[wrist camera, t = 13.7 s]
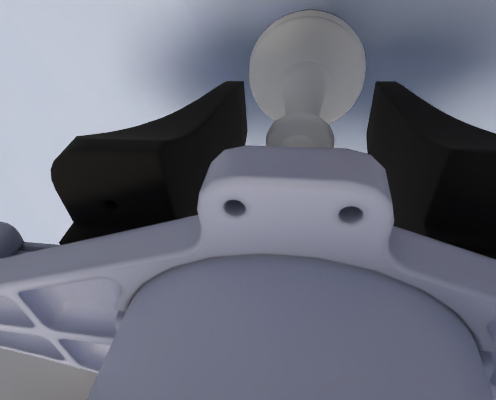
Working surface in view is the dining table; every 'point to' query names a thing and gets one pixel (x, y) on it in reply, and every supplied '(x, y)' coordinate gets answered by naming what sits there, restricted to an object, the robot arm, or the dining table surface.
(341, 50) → the chess piece
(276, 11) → the dining table surface
